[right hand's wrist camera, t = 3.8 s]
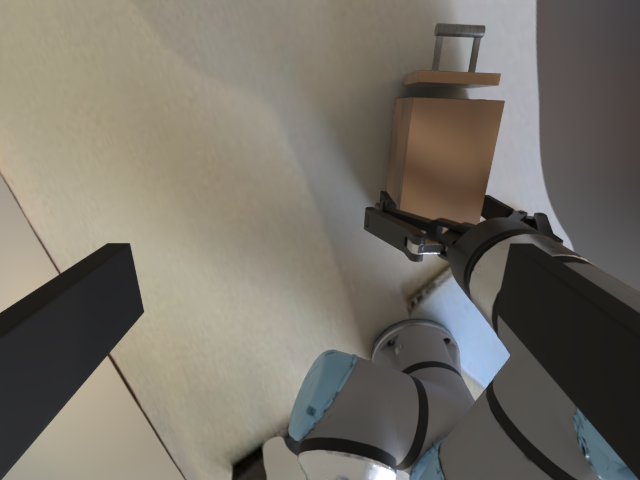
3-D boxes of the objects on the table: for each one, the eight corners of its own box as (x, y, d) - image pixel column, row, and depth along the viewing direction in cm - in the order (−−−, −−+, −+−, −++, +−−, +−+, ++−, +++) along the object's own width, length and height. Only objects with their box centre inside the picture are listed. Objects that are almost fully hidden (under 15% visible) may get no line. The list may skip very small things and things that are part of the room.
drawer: (408, 32, 44) (425, 17, 37) (480, 35, 45) (511, 21, 37) (390, 196, 52) (401, 211, 45) (451, 198, 52) (472, 214, 45)
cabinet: (395, 98, 48) (412, 97, 39) (469, 101, 48) (505, 100, 39) (382, 220, 55) (394, 244, 45) (448, 223, 55) (474, 247, 46)
